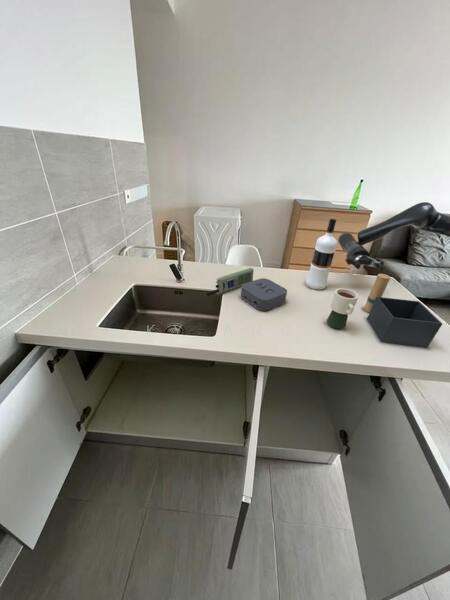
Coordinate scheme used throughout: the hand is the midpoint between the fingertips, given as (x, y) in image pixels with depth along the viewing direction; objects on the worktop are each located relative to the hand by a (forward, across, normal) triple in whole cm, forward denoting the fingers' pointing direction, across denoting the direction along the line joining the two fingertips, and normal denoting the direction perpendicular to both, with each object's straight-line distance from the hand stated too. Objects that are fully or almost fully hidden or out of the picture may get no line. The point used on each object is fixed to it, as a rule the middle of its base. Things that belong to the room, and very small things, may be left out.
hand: (370, 268), depth 99 cm
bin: (+25, +4, +13) cm, 28 cm away
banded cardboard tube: (+12, 0, +13) cm, 18 cm away
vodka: (-5, -18, +13) cm, 23 cm away
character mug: (+25, -16, +13) cm, 32 cm away
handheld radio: (+7, -56, +13) cm, 58 cm away
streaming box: (+13, -42, +13) cm, 46 cm away
